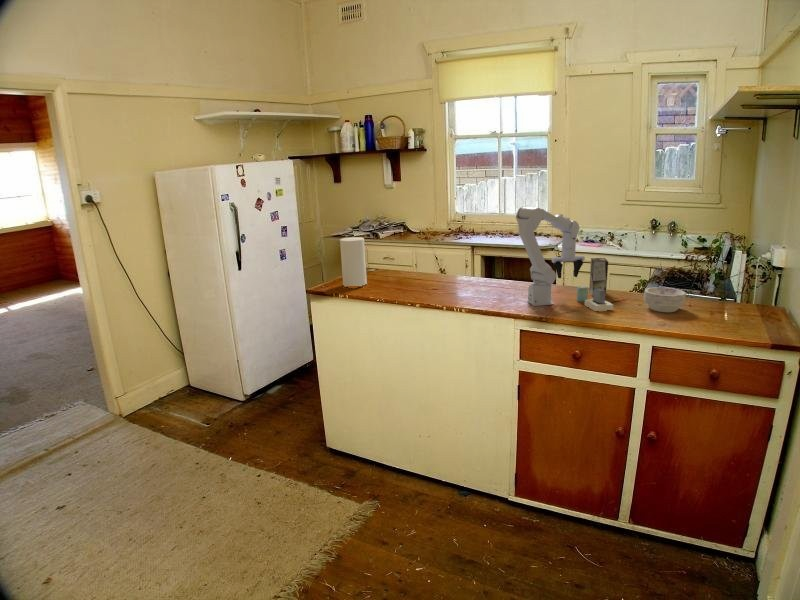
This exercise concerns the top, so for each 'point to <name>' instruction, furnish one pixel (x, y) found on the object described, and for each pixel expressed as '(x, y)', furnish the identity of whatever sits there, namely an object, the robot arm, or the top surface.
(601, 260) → the coffee box
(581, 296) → the grey upright block
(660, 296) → the light grey bowl
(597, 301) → the bar
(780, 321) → the top surface
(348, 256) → the cylinder
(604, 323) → the top surface
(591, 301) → the slot plate
